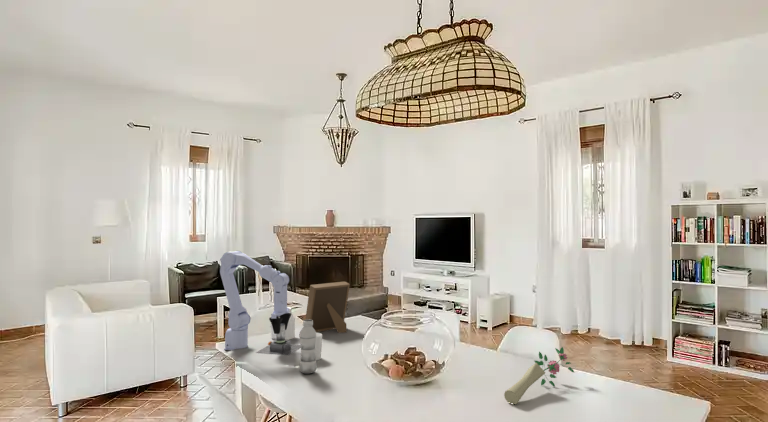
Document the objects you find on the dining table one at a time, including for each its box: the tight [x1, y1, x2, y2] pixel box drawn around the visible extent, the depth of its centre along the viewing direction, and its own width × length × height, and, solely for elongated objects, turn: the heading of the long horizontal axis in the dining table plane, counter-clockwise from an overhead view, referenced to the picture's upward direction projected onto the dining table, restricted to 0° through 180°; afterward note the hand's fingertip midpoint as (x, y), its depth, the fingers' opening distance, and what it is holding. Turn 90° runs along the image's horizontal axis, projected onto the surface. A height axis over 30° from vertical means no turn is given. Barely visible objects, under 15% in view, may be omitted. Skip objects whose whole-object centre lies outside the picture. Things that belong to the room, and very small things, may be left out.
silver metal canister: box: [275, 323, 285, 344], centre depth 215 cm, size 4×4×8 cm
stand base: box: [255, 339, 301, 356], centre depth 215 cm, size 16×16×4 cm
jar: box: [270, 306, 296, 341], centre depth 237 cm, size 12×10×15 cm
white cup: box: [315, 332, 323, 361], centre depth 205 cm, size 8×8×10 cm
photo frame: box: [304, 281, 351, 334], centre depth 252 cm, size 15×22×25 cm
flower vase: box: [503, 346, 575, 405], centre depth 167 cm, size 12×12×35 cm
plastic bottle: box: [298, 319, 318, 375], centre depth 186 cm, size 6×7×20 cm
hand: (280, 331), depth 215 cm, fingers open, 7 cm apart
